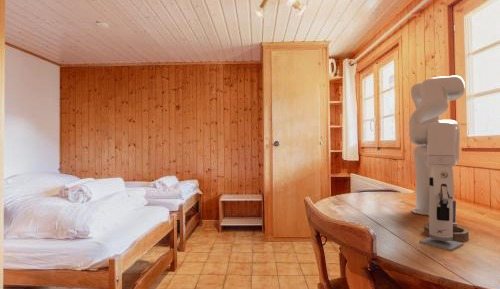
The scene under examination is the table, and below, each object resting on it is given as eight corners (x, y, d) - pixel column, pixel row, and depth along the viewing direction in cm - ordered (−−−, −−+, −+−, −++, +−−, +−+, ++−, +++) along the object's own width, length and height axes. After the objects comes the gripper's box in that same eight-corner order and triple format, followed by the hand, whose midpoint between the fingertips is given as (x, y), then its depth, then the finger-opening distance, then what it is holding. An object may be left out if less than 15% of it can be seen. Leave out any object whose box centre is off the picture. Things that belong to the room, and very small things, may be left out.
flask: (444, 228, 109) (444, 197, 109) (435, 226, 111) (435, 196, 111) (457, 224, 114) (457, 195, 114) (448, 223, 116) (448, 194, 117)
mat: (432, 237, 98) (432, 235, 98) (463, 245, 91) (463, 243, 91) (419, 242, 93) (419, 240, 93) (451, 251, 85) (451, 249, 85)
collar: (434, 227, 109) (434, 219, 109) (474, 236, 99) (474, 226, 99) (417, 234, 102) (417, 224, 102) (458, 244, 91) (458, 233, 91)
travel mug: (443, 242, 88) (443, 176, 88) (424, 236, 94) (424, 174, 94) (458, 240, 90) (458, 176, 90) (438, 234, 96) (438, 173, 96)
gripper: (461, 163, 82) (461, 226, 82) (449, 160, 98) (449, 212, 98) (431, 162, 86) (430, 223, 86) (424, 159, 101) (424, 210, 101)
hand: (441, 217), depth 92 cm, fingers closed on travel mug, 6 cm apart
